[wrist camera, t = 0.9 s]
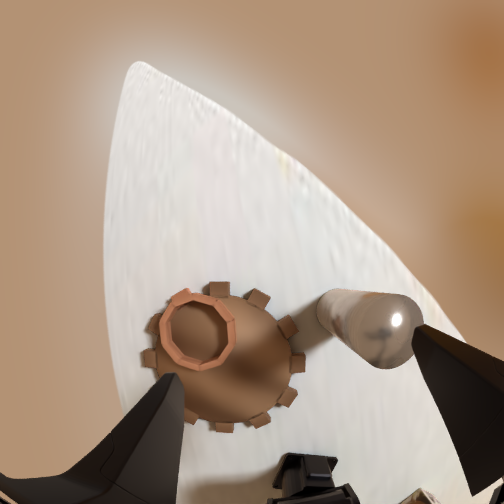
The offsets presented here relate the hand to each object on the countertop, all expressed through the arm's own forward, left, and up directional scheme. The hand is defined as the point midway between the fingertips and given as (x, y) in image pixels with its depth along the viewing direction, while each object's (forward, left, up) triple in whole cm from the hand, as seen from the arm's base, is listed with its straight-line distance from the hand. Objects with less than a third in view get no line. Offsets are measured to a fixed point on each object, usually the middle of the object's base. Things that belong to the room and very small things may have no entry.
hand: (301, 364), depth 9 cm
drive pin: (+1, -6, -18) cm, 19 cm away
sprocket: (-7, +4, -18) cm, 20 cm away
